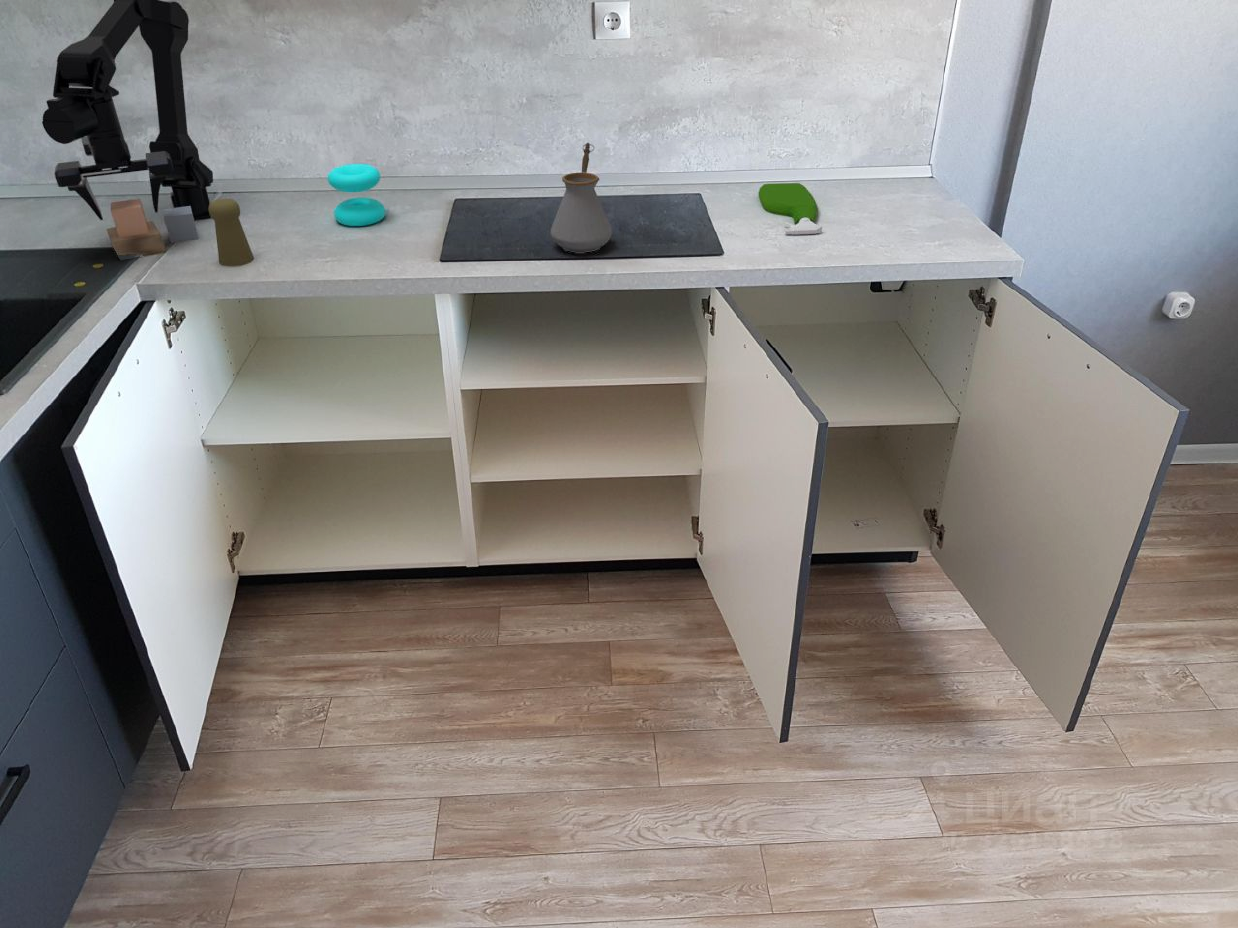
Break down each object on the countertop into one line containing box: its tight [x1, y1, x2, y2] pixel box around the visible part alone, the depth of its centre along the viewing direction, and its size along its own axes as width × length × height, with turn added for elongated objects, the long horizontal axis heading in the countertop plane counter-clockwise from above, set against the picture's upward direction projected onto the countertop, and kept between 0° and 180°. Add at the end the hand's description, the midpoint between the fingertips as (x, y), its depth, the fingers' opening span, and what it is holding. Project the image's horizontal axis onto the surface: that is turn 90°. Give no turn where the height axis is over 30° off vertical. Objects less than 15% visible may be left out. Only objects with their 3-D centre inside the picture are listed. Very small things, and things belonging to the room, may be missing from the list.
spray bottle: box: [758, 182, 823, 236], centre depth 190 cm, size 3×11×24 cm
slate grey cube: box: [162, 206, 200, 244], centre depth 181 cm, size 5×5×5 cm
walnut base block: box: [106, 220, 167, 257], centre depth 175 cm, size 8×8×4 cm
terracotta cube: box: [110, 198, 149, 238], centre depth 173 cm, size 5×5×5 cm
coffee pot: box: [550, 142, 613, 252], centre depth 176 cm, size 21×12×15 cm, turn 176°
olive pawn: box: [208, 198, 255, 267], centre depth 169 cm, size 6×6×11 cm
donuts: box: [327, 163, 386, 227], centre depth 186 cm, size 10×10×10 cm
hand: (129, 215), depth 173 cm, fingers open, 9 cm apart
